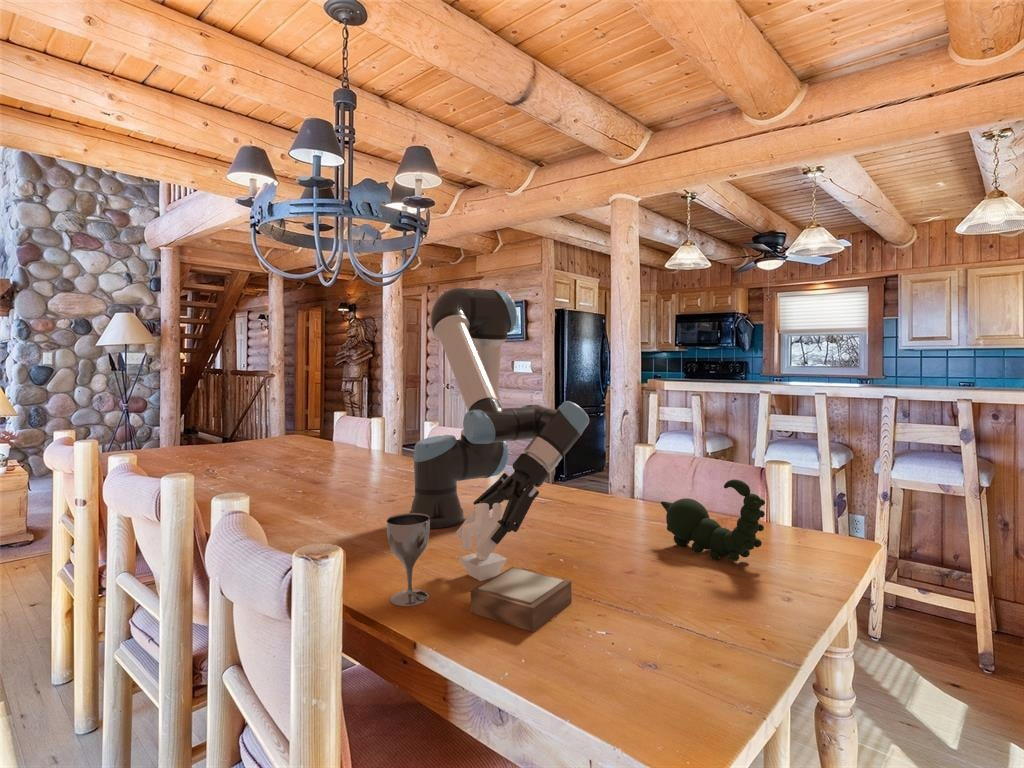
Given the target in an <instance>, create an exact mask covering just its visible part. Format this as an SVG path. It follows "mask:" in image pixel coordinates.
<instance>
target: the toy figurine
mask: <svg viewBox="0 0 1024 768" xmlns="http://www.w3.org/2000/svg"><path fill="white" fill-rule="evenodd" d="M723 488H724V489H728V488H732V489H734V490H736V491H735V492H737V493H738V494H739V495H740V496H743V497H744V498H743V505H742V506H741V508H740V511H739V512H740V513H739V514H740V517H738V518H737V521H736V526H735V527H734V528H733V529H732V530H730V529H729V528H726V527H722V526H721V525H720V523H719V522H718V521H716V520H714V519H712V518H710V515H709V513H708V510H707V509H706V507H705V506H704V505H703V504H702V503H701V502H699V501H697V500H695V499H693V498H687V497H684V498H680V499H677V500H675V501H674V502H669V501H664V500H662V501H660V504H661V506H662V507H663V508H664V510H665V511H666V516H665V519H666V530H667V532H670V533H672V535H673V541H674V543H675V544H676V545H678V546H681V547H685V546H686V545H688V544H690V542H693V543H692V544H691V550H692V551H693V552H694V553H697V554H701V553H703V551H704V550H707V551H708V550H709V551H710V556H709V557H710V558H711V560H713V561H718V560H720V559H721V558H727V557H728V558H729V560H730V561H731V562H738V561H739V559H740V557H742V558H748V557H749V556H750V554H751V553H750V552H751V551H752V550H754V549H755V548H759V547H761V546H762V541H761V539H760V538H757V536H756V535H757V533H758V532H763V531H764V529H765V527H764V525H763V524H761V523H759V521H760V519H761V518H764V516H766V513H765V511H763V510H762V509H761V507H762V506H764V505H765V504H766V501H765V500H764V499H762V498H761V497H760V496H759V495H758V494H756V493H751V488H750V485H748V484H747V483H746V482H744V481H743V480H740V479H735V478H734V479H730V480H727V481H726V482H725V483H724V485H723Z"/></svg>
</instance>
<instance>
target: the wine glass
mask: <svg viewBox="0 0 1024 768" xmlns="http://www.w3.org/2000/svg"><path fill="white" fill-rule="evenodd" d="M430 530H431V528H430V517H429V516H428V515H426V514H421V513H410V512H408V513H407V512H406V513H398V514H395V515H392V516H390V517H388V518H387V519H386V536H387V541H388V546H389V548H390V551H391V552H392V554H393V555H394V556H396V558H397V559H398V560H399V561H400V562H401V563H402V565H403V566H404V569H405V572H406V580H407V581H406V582H407V589H406V590H402V591H399V592H396V593H394V594H393V595H392V596H391V597H390V602H391V603H392V604H393V605H396V606H400V607H412V606H413V607H414V606H418V605H421V604H423V603H425V602H426V601H427V600H428V599H429V598H430V594H429V593H428V592H427V591H424V590H421V589H413V583H412V581H413V571H414V570H413V569H414V566H415V564H416V562H417V561H418V560H419V558H420V557H421V556H422V555H423V553H424V552H425V550H426V549H427V547H428V544H429V538H430Z"/></svg>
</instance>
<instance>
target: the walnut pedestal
mask: <svg viewBox="0 0 1024 768" xmlns="http://www.w3.org/2000/svg"><path fill="white" fill-rule="evenodd" d="M572 598H573V597H572V581H571V580H568V579H564V578H560V577H556V576H553V575H547V574H543V573H538V572H536V571H531V570H529V569H528V570H527V569H523V568H518V567H516V566H515V567H514V566H511V567H510V568H508V569H506V570H504V571H503V572H500V573H499V575H497V576H495V577H493V578H490V579H487V580H485V582H483V583H481V584H479V585H477V586H475V587H474V588H472V589H470V613H471V614H475V615H477V616H481V617H484V618H487V619H490V620H493V621H496V622H499V623H502V624H506V625H509V626H512V627H515V628H518V629H522V630H525V631H528V632H531V633H534V632H536V631H537V630H538V629H540V628H541V627H543V625H545V624H546V623H547V622H549V621H550V620H551V619H553V618H554V617H555V616H556V615H558V614H559V613H560V612H562V611H563V610H564V609H565V608H567V607H569V605H571V604H572V602H573V601H572Z"/></svg>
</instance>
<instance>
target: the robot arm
mask: <svg viewBox="0 0 1024 768" xmlns="http://www.w3.org/2000/svg"><path fill="white" fill-rule="evenodd" d="M516 307H517V306H516V303H515V301H514V300H513V298H512V296H511V295H510V294H509V293H508V292H507V291H503V290H498V289H493V288H492V289H487V288H486V289H485V288H484V289H483V288H465V287H455V288H454V287H453V288H450V289H448V290H446V291H445V292H444V293H442V294H440V296H439V297H437V299H436V300H435V303H434V305H433V307H432V309H431V313H430V327H431V330H432V333H433V335H434V337H435V339H436V340H437V341H439V342H440V343H441V346H442V348H443V351H444V353H445V355H446V358H447V361H448V363H449V365H450V369H451V371H452V373H453V376H454V379H455V381H456V383H457V384H456V385H457V386H458V389H459V391H460V394H461V396H462V399H463V401H464V405H465V408H466V409H467V412H466V413H465V414H464V416H463V419H462V420H463V421H462V427H463V429H462V430H461V432H460V439H457V438H456V436H454V435H452V434H444V435H435V436H431V437H426V438H422V439H420V440H418V441H417V442H416V444H415V445H414V448H413V449H414V450H413V464H414V465H413V467H414V471H413V473H414V496H413V500H412V504H411V508H410V510H409V513H421V514H426V515H428V516H429V517H430V529H441V528H442V529H443V528H448V527H449V528H450V527H453V526H456V525H459V524H461V523H462V522H463V521H464V519H465V517H464V510H463V508H462V506H461V501H460V499H459V494H458V491H457V490H458V485H457V483H458V482H459V481H460V482H462V481H468V480H477V479H488V478H491V477H495V476H499V475H500V477H499V478H498V479H497V480H496V481H495V482H494V483H493V484H492V485H491V486H490V487H489V488H487V489H486V490H485V491H484V492H483V493H482V494H481V495H480V496H479V497H477V498H476V499H475V500H474V501H473V503H472V504H473V505H474V506H475V504H478V503H487V504H489V512H490V511H491V510H493V504H494V503H499V504H501V503H503V502H504V501H507V503H506V506H505V509H504V512H503V513H502V519H501V520H499V521H497V522H498V523H499V524H500V525H501V526H500V525H499V524H498V523H496V525H495V526H494V527H493V528H492V530H491V531H490V532H489V533H488V535H487V536H486V537H485V538H484V540H483V541H482V542H481V543H480V545H479V546H478V547H477V549H476V548H475V551H476V550H477V551H478V552H479V553H480V554H481V555H482V556H483V557H485V558H486V559H487V557H488V556H489V555H490V554H491V552H493V551H494V550H495V548H496V547H497V546H498V545H499V544H500V542H501V541H502V540H503V539H504V537H505V536H506V535H507V534H508V533H510V532H514V533H517V532H518V531H519V529H520V527H521V525H522V523H523V521H524V519H525V518H526V515H527V513H528V511H529V510H530V509H531V505H532V503H533V502H534V500H535V499H536V498H537V497H538V496H539V494H540V491H539V490H538V489H537V488H541V486H542V485H543V484H544V482H545V481H546V480H547V478H548V477H549V473H551V472H553V470H555V468H556V467H557V466H558V465H559V463H560V461H561V460H562V459H563V458H564V456H565V455H566V454H567V453H568V452H569V451H570V449H571V448H572V447H573V446H574V444H575V443H577V440H579V438H580V437H581V436H582V435H583V433H584V431H585V429H586V428H587V427H588V425H589V424H590V417H589V415H588V413H587V412H586V411H585V410H584V409H583V408H582V407H580V405H578V404H577V403H575V402H572V401H570V400H566V401H563V402H562V403H561V405H559V406H558V407H557V409H552V408H549V407H544V406H542V405H539V404H525V405H523V406H521V407H509V408H508V407H507V408H505V407H502V405H501V404H500V401H499V391H500V375H501V374H500V372H501V357H502V355H501V354H502V345H503V344H504V343H505V342H506V341H507V340H508V334H509V333H512V332H513V331H514V330H515V326H517V321H518V316H517V315H518V311H517V308H516ZM525 440H531V441H530V442H529V443H528V445H526V447H525V448H524V450H523V451H524V453H521V454H519V456H518V457H517V458H516V460H515V461H514V462H513V463H512V465H511V466H512V469H513V470H514V472H513V473H512V474H511V475H508V474H507V472H504V473H502V472H503V471H504V470H505V468H506V466H507V464H508V459H509V448H508V443H507V442H512V441H514V442H516V441H525ZM501 473H502V475H501ZM475 519H476V515H475V509H473V511H472V512H471V514H469V516H468V517H467V518H466V519H465V521H464V522H463V523H462V524H461V525H460V526H459V527H458V529H457V530H456V531H455V534H456V535H457V536H458V537H459V538H461V539H462V528H463V526H464V525H465V524H466V523H470V522H474V521H475Z"/></svg>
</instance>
